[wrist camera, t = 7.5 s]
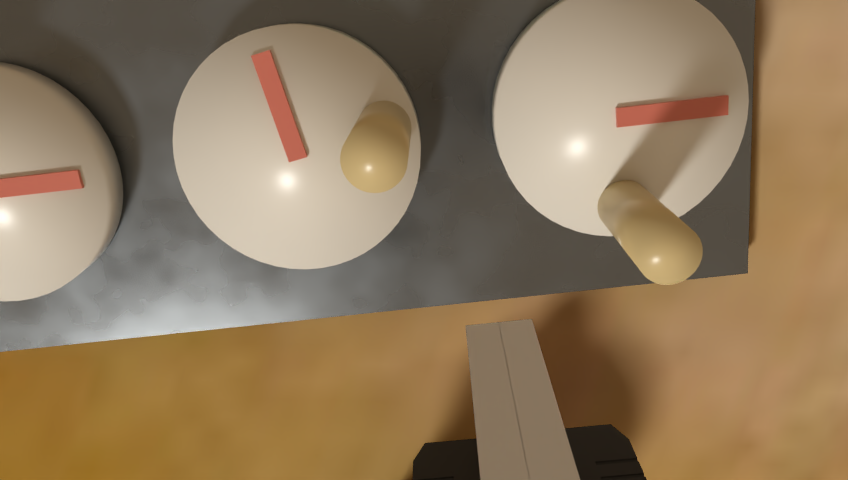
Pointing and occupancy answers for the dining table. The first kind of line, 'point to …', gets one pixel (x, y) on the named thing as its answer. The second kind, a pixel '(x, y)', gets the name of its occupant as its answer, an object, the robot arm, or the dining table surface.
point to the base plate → (392, 257)
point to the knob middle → (297, 145)
